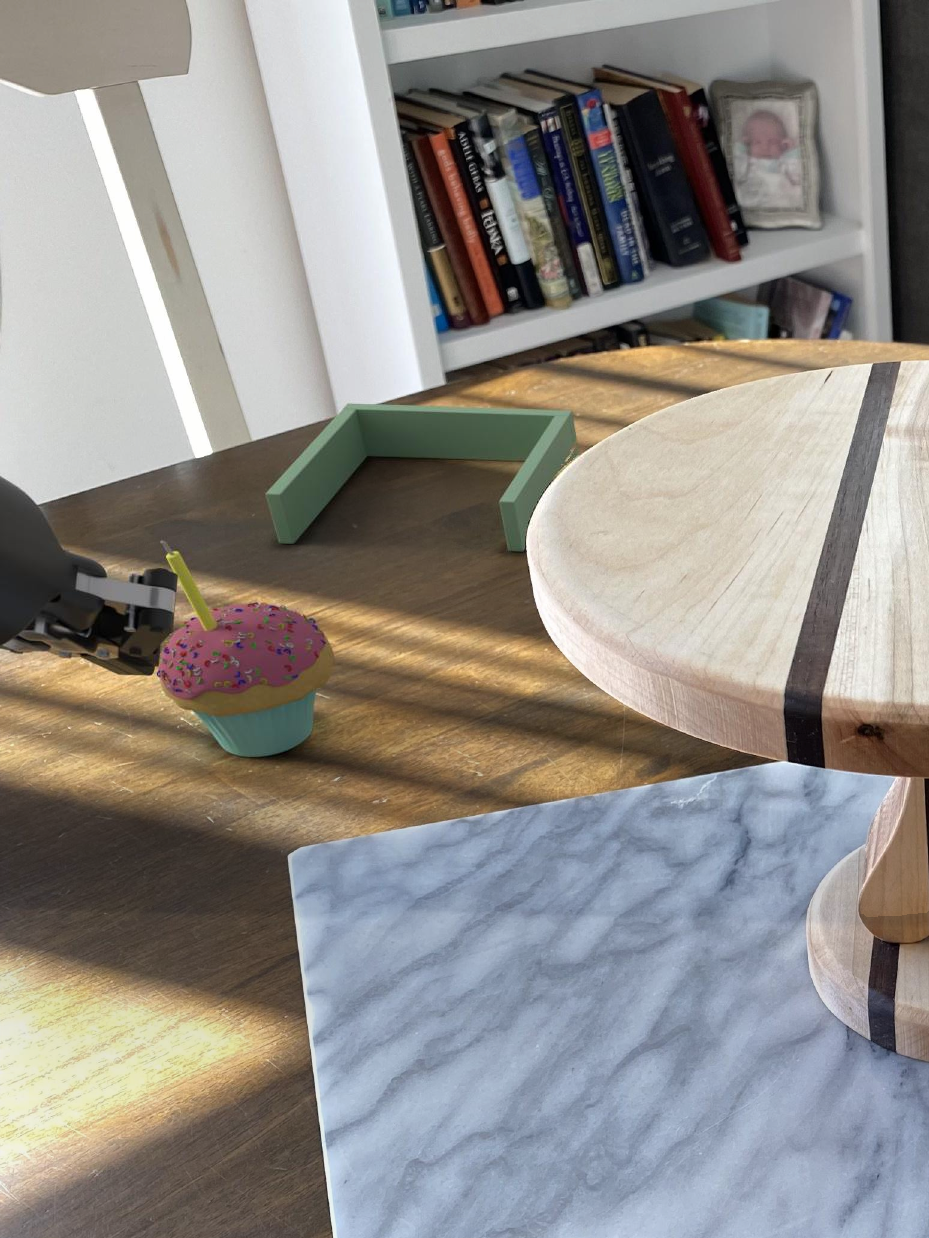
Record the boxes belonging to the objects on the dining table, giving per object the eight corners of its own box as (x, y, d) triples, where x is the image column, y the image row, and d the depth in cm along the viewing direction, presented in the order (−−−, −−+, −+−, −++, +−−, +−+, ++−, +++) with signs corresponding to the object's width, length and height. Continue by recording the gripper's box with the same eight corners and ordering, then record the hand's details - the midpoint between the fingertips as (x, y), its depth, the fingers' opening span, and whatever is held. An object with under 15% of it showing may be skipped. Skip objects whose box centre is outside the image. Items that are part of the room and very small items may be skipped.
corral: (523, 552, 109) (514, 501, 107) (278, 543, 109) (264, 493, 107) (579, 457, 121) (572, 410, 119) (358, 450, 121) (347, 403, 119)
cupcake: (214, 795, 87) (143, 585, 80) (160, 725, 92) (89, 522, 85) (375, 740, 91) (322, 537, 84) (315, 676, 97) (260, 479, 89)
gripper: (75, 433, 62) (287, 580, 79) (-281, 424, 62) (9, 573, 79) (54, 631, 61) (274, 737, 78) (-306, 622, 61) (-8, 729, 78)
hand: (140, 654), depth 79 cm, fingers closed
